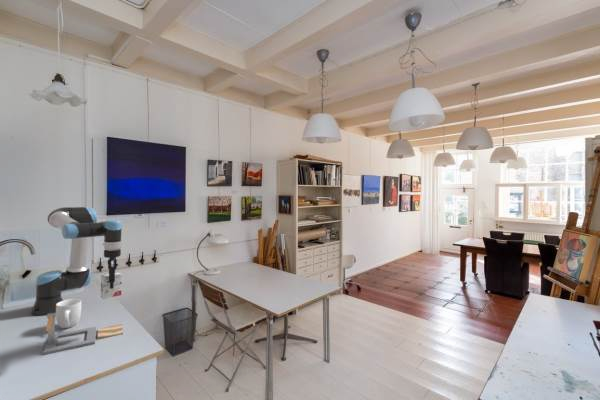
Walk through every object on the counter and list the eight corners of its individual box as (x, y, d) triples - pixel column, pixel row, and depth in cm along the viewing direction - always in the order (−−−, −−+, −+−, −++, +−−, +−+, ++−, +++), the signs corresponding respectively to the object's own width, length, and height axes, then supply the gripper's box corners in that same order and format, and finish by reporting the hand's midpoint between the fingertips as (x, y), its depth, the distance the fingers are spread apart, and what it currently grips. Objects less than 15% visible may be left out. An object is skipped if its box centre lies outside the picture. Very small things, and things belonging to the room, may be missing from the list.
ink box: (118, 292, 156) (119, 271, 156) (121, 295, 153) (122, 273, 153) (100, 296, 150) (100, 274, 150) (103, 299, 147) (103, 276, 146)
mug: (79, 330, 152) (80, 306, 152) (52, 335, 146) (53, 310, 146) (81, 319, 164) (82, 297, 164) (57, 323, 158) (57, 300, 158)
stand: (49, 337, 144) (50, 310, 144) (95, 328, 155) (96, 303, 155) (43, 354, 129) (44, 325, 129) (94, 343, 140) (95, 316, 140)
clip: (56, 314, 139) (56, 311, 139) (52, 330, 125) (53, 326, 125) (47, 316, 137) (47, 313, 137) (43, 332, 123) (43, 328, 123)
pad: (97, 330, 153) (97, 328, 153) (121, 325, 160) (121, 324, 160) (97, 339, 144) (97, 337, 144) (122, 334, 151) (122, 332, 151)
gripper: (104, 246, 157) (102, 287, 157) (103, 253, 141) (102, 299, 142) (120, 245, 161) (118, 285, 161) (121, 252, 145) (120, 296, 146)
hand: (111, 292), depth 151 cm, fingers closed on ink box, 6 cm apart
